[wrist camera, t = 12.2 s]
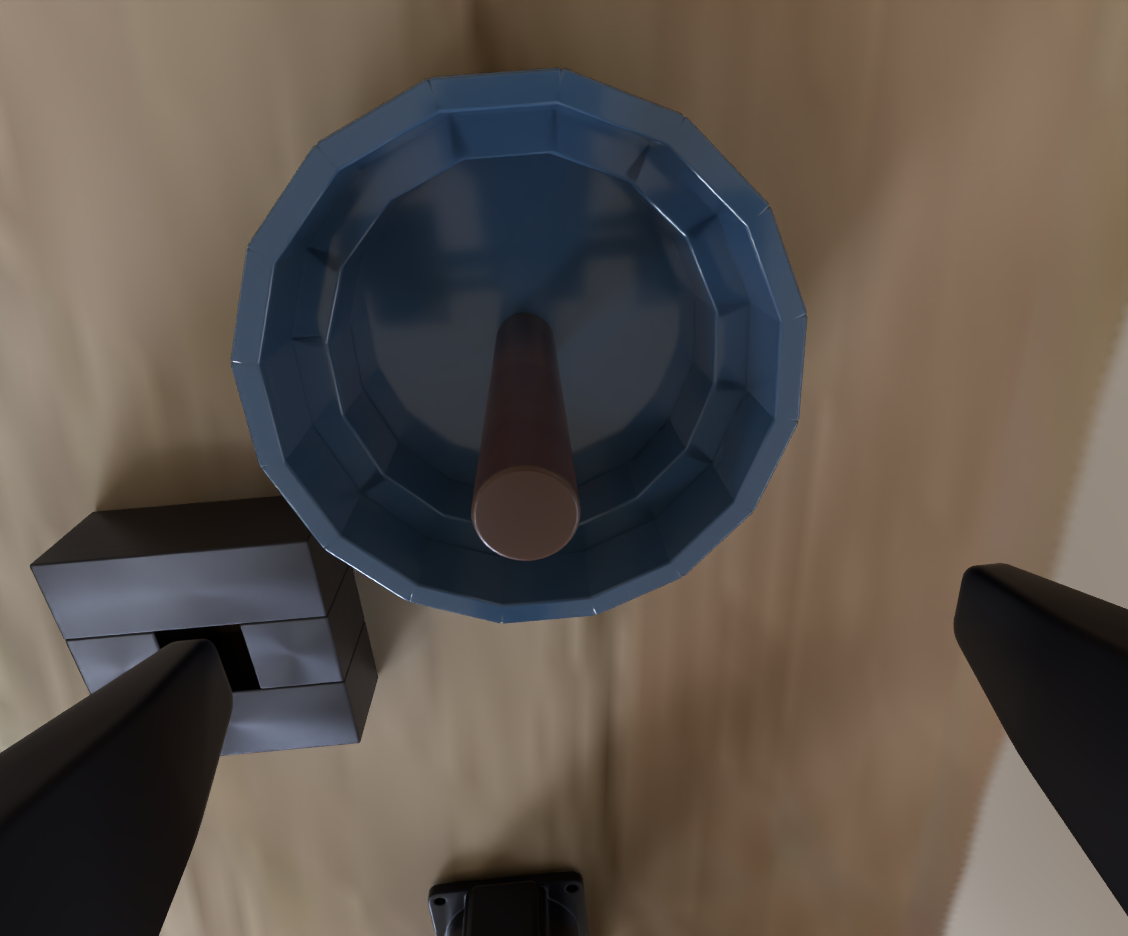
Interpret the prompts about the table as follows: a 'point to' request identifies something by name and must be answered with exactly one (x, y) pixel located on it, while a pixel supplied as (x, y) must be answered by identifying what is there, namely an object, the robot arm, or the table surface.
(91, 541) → the holder
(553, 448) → the stick
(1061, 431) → the table surface
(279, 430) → the bowl
